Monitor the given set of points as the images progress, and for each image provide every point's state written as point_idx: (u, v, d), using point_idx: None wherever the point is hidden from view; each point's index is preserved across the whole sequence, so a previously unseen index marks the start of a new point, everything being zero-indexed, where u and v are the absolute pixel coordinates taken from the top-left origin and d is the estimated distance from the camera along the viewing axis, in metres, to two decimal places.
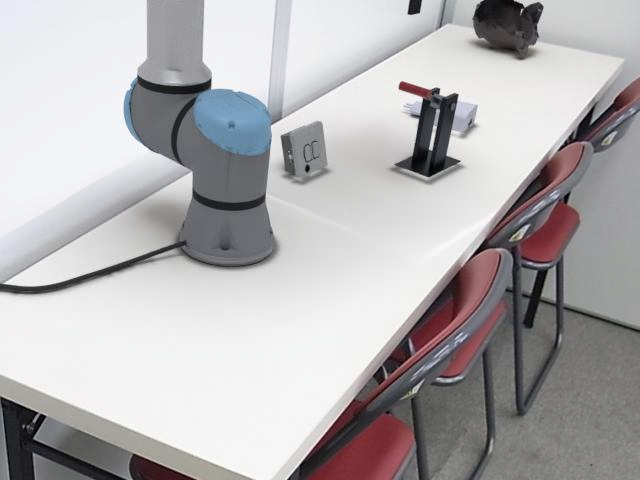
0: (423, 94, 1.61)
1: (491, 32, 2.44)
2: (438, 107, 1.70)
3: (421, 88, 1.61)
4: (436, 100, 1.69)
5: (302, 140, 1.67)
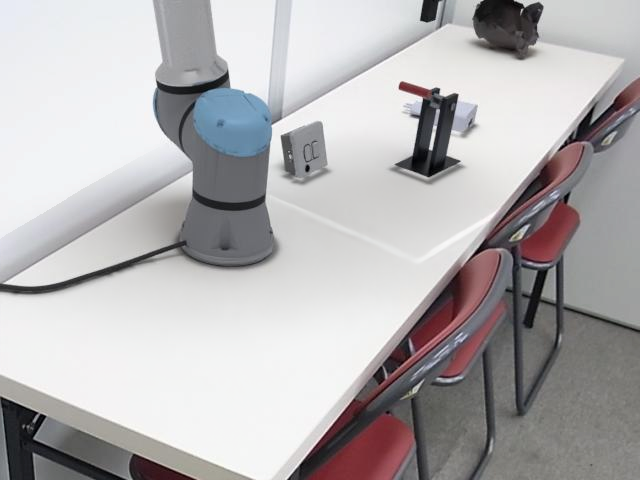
0: (423, 94, 1.61)
1: (491, 32, 2.44)
2: (438, 107, 1.70)
3: (421, 88, 1.61)
4: (436, 100, 1.69)
5: (302, 140, 1.67)
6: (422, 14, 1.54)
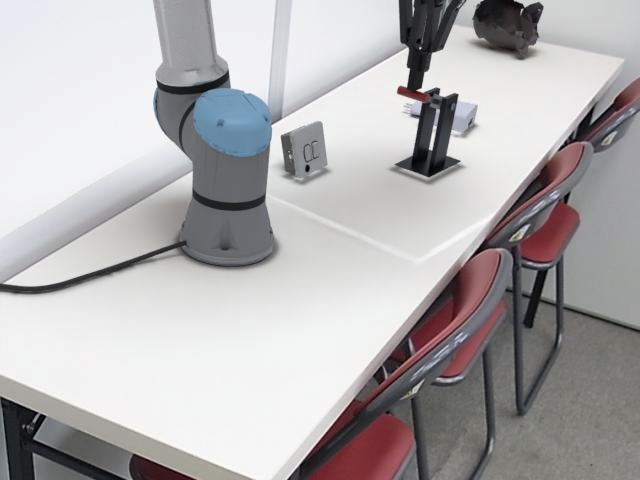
0: (421, 99, 1.61)
1: (491, 32, 2.44)
2: (438, 108, 1.70)
3: (419, 93, 1.61)
4: (436, 101, 1.69)
5: (302, 140, 1.67)
6: (409, 83, 1.61)
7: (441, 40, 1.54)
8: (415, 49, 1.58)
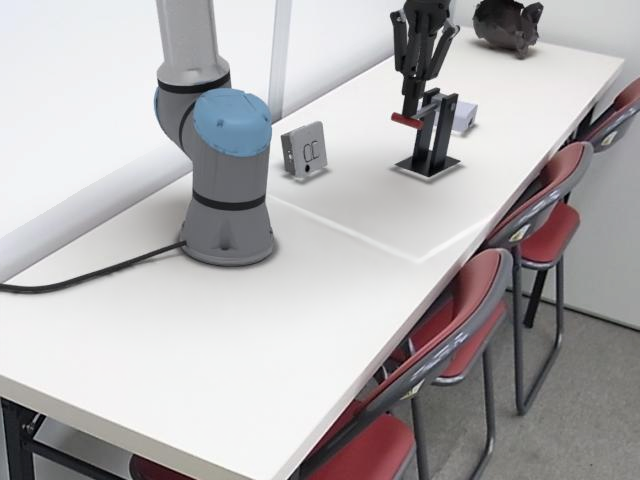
0: (415, 127, 1.64)
1: (491, 32, 2.44)
2: (438, 111, 1.71)
3: (412, 121, 1.64)
4: (434, 107, 1.70)
5: (302, 140, 1.67)
6: (403, 110, 1.63)
7: (435, 69, 1.56)
8: (410, 77, 1.61)
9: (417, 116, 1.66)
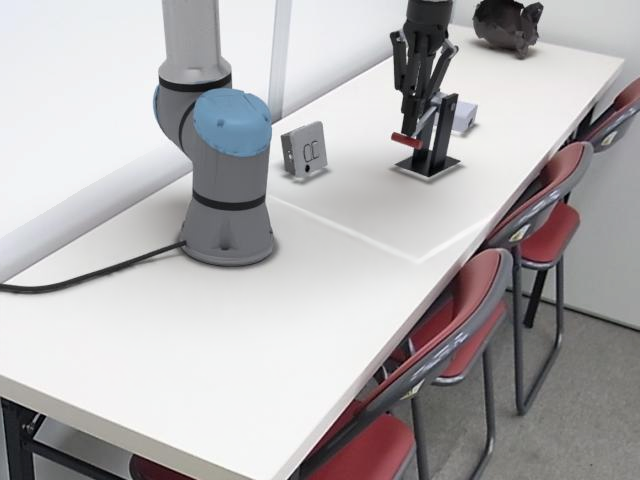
0: (415, 148, 1.67)
1: (491, 32, 2.44)
2: (439, 112, 1.71)
3: (411, 142, 1.67)
4: (434, 112, 1.70)
5: (302, 140, 1.67)
6: (403, 128, 1.66)
7: (434, 88, 1.59)
8: (409, 95, 1.63)
9: (416, 131, 1.69)
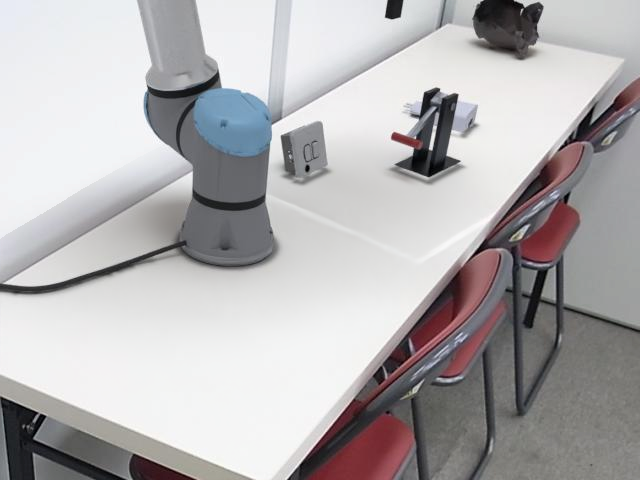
0: (415, 148, 1.67)
1: (491, 32, 2.44)
2: (439, 112, 1.71)
3: (411, 142, 1.67)
4: (434, 112, 1.70)
5: (302, 140, 1.67)
6: (387, 11, 1.55)
7: None
8: None
9: (416, 131, 1.69)
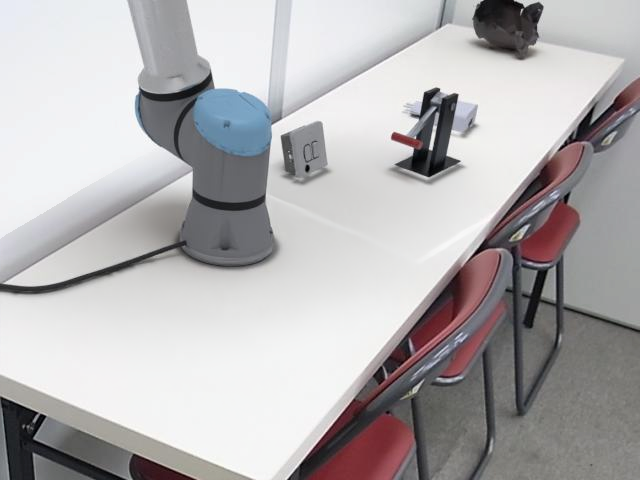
0: (415, 148, 1.67)
1: (491, 32, 2.44)
2: (439, 112, 1.71)
3: (411, 142, 1.67)
4: (434, 112, 1.70)
5: (302, 140, 1.67)
6: None
7: None
8: None
9: (416, 131, 1.69)
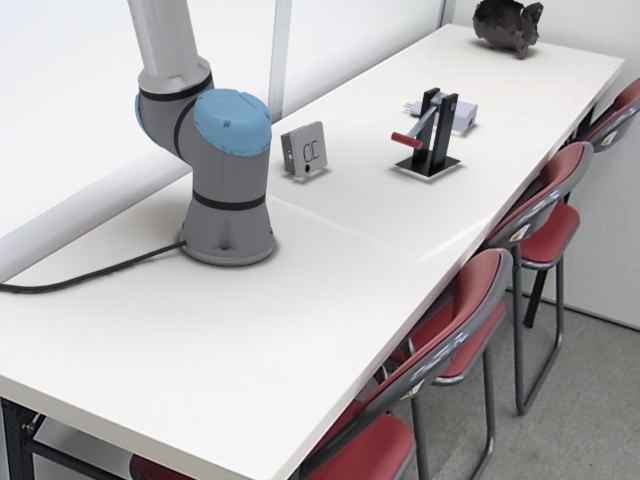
0: (415, 148, 1.67)
1: (491, 32, 2.44)
2: (439, 112, 1.71)
3: (411, 142, 1.67)
4: (434, 112, 1.70)
5: (302, 140, 1.67)
6: None
7: None
8: None
9: (416, 131, 1.69)
